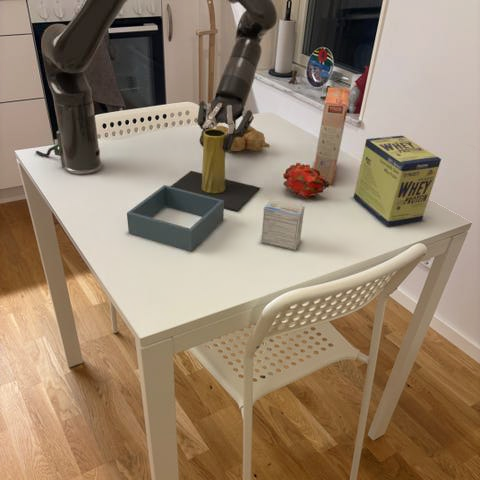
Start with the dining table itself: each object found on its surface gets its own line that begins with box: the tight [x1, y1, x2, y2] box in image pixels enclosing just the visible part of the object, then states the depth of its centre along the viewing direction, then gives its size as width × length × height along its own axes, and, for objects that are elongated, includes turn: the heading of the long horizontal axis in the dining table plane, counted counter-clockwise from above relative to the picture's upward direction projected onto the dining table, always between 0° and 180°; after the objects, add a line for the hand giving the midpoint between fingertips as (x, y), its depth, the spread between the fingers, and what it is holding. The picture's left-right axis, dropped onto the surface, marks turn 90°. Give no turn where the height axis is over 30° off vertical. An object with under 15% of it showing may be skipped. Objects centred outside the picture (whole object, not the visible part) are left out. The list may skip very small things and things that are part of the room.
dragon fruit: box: [283, 162, 330, 200], centre depth 129 cm, size 8×8×12 cm
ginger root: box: [214, 124, 271, 153], centre depth 151 cm, size 16×16×8 cm
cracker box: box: [313, 86, 351, 186], centre depth 135 cm, size 14×6×21 cm, turn 168°
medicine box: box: [260, 199, 305, 251], centre depth 110 cm, size 8×4×9 cm, turn 71°
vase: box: [201, 128, 226, 194], centre depth 126 cm, size 6×6×14 cm
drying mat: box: [169, 170, 260, 213], centre depth 130 cm, size 20×14×1 cm
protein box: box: [353, 135, 442, 227], centre depth 123 cm, size 10×16×16 cm
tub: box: [126, 184, 225, 252], centre depth 114 cm, size 16×16×5 cm
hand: (213, 147), depth 123 cm, fingers closed on vase, 5 cm apart
